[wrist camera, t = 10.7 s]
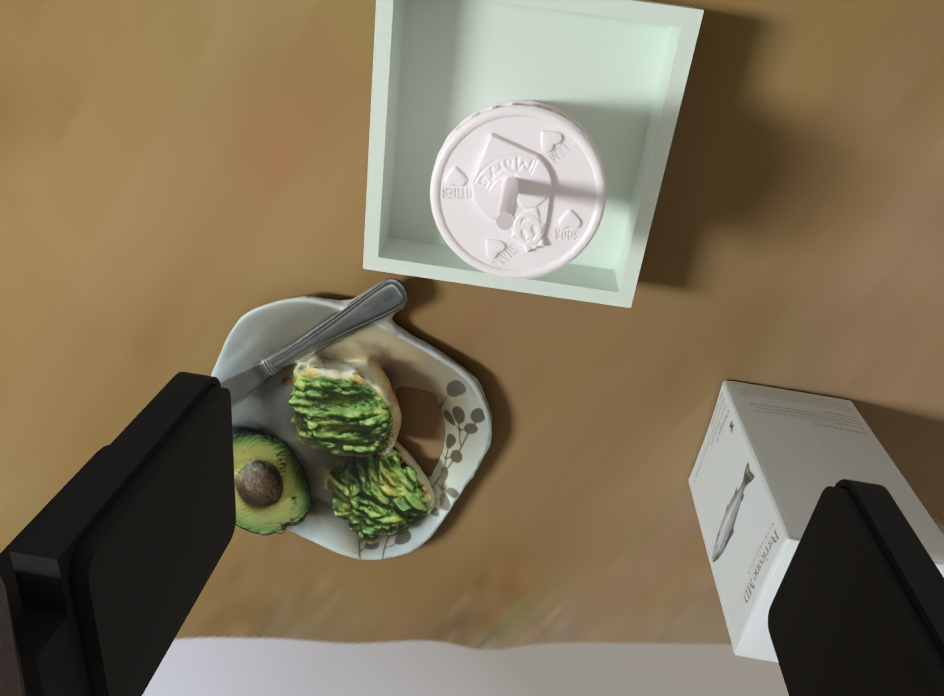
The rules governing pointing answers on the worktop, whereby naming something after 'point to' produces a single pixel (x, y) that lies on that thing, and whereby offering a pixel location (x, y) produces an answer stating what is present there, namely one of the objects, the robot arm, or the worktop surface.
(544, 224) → the smoothie
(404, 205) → the bin
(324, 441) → the avocado toast plate
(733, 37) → the worktop surface
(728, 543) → the supplement box
